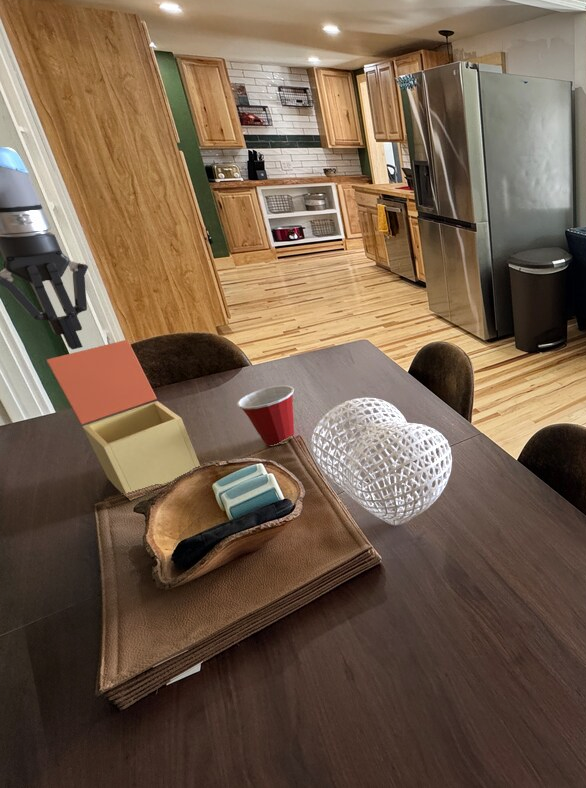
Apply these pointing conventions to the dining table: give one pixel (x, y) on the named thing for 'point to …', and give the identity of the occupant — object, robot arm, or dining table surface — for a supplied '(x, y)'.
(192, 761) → the dining table surface
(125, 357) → the lid
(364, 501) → the heart
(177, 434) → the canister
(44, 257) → the robot arm
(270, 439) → the plastic cup
